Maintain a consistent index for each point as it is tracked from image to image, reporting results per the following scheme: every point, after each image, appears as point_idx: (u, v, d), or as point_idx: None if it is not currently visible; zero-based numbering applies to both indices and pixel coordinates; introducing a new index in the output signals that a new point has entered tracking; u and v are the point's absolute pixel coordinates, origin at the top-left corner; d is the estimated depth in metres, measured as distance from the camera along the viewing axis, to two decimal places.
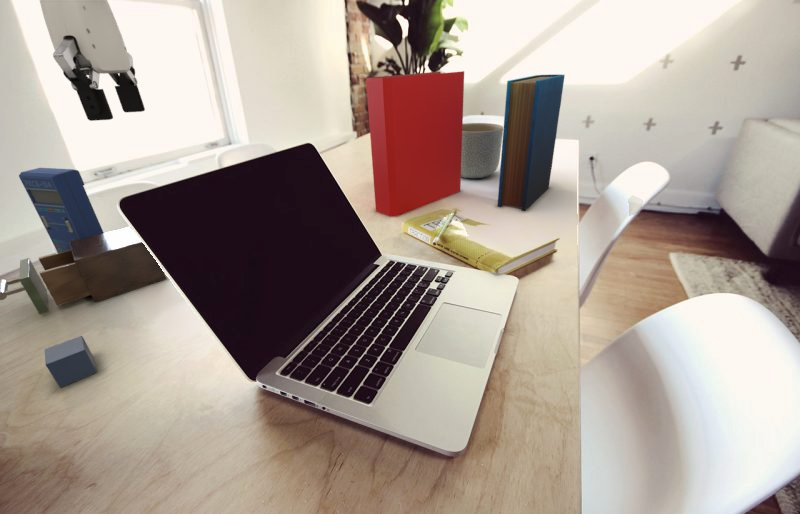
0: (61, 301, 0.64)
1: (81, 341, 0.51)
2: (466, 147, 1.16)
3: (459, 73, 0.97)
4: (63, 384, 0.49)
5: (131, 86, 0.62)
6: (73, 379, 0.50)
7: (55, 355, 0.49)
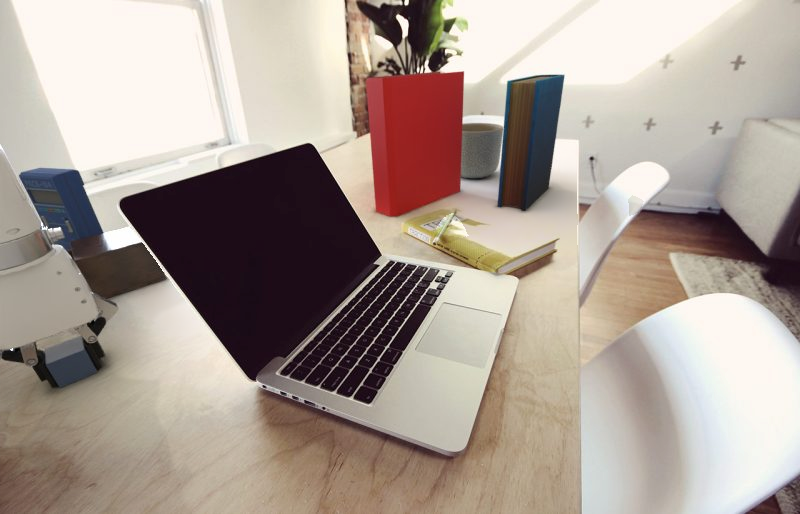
0: None
1: (81, 341, 0.51)
2: (466, 147, 1.16)
3: (458, 73, 0.97)
4: (63, 385, 0.49)
5: (84, 346, 0.50)
6: (73, 379, 0.50)
7: (55, 355, 0.49)
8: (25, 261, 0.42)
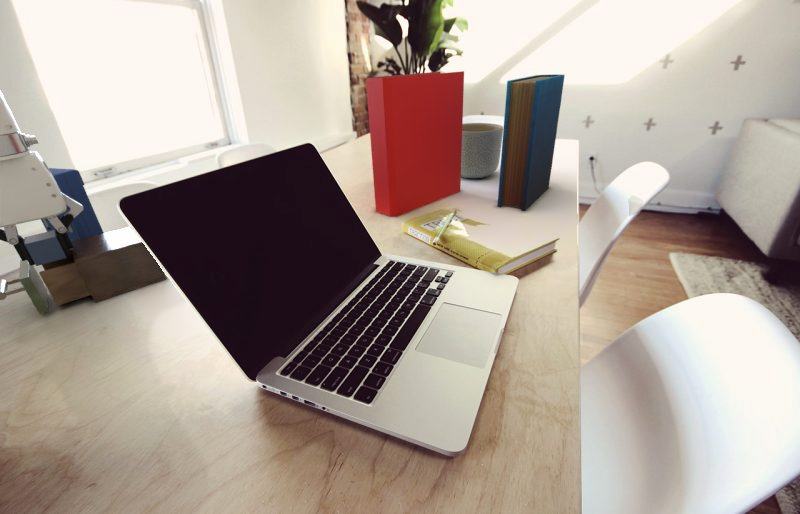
0: (61, 301, 0.64)
1: (54, 232, 0.64)
2: (466, 147, 1.16)
3: (458, 73, 0.97)
4: (39, 263, 0.62)
5: (56, 235, 0.63)
6: (47, 260, 0.63)
7: (32, 239, 0.62)
8: (6, 154, 0.55)
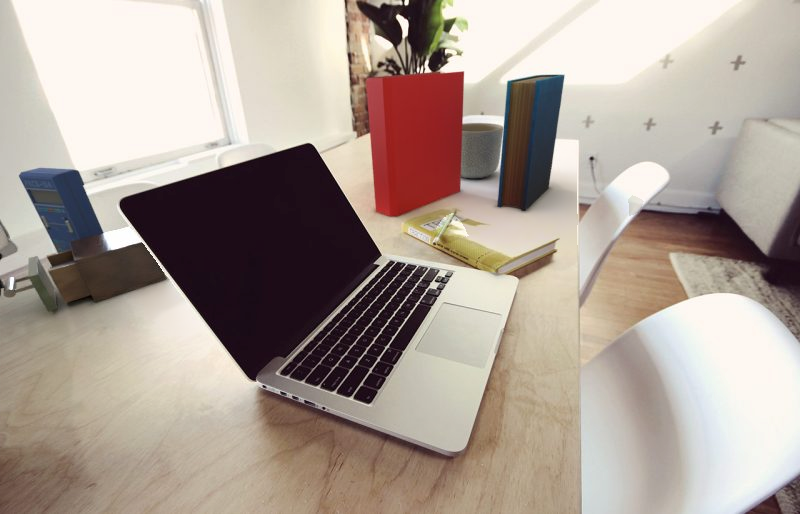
0: (69, 298, 0.65)
1: None
2: (466, 147, 1.16)
3: (458, 73, 0.97)
4: None
5: None
6: None
7: None
8: None
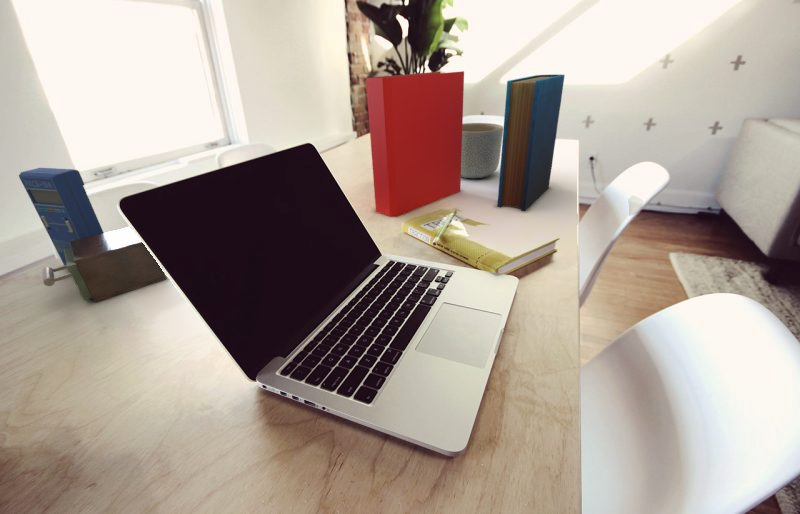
0: None
1: None
2: (466, 147, 1.16)
3: (458, 73, 0.97)
4: None
5: None
6: None
7: None
8: None
